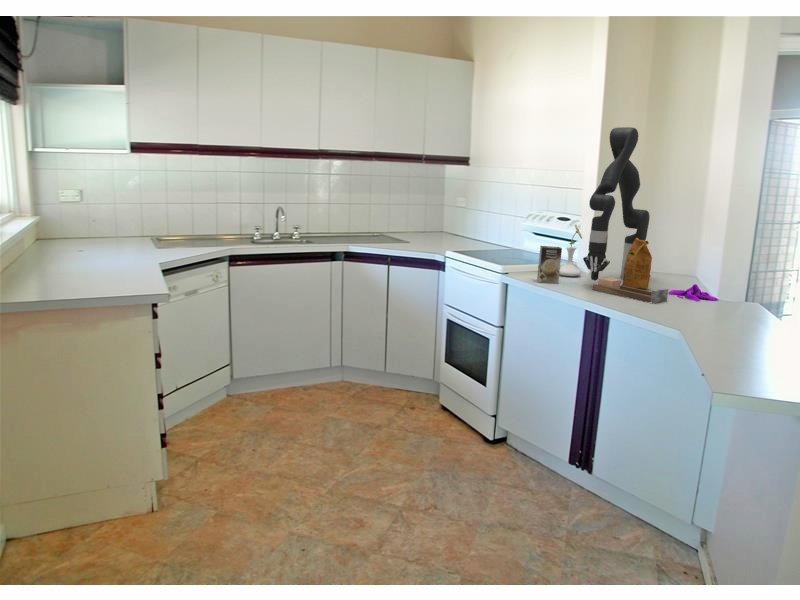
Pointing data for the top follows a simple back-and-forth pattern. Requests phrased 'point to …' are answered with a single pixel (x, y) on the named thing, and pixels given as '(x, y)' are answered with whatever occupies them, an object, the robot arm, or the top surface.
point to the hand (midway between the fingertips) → (594, 279)
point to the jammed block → (610, 282)
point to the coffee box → (549, 264)
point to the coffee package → (637, 266)
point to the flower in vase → (570, 260)
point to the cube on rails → (635, 293)
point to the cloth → (693, 294)
